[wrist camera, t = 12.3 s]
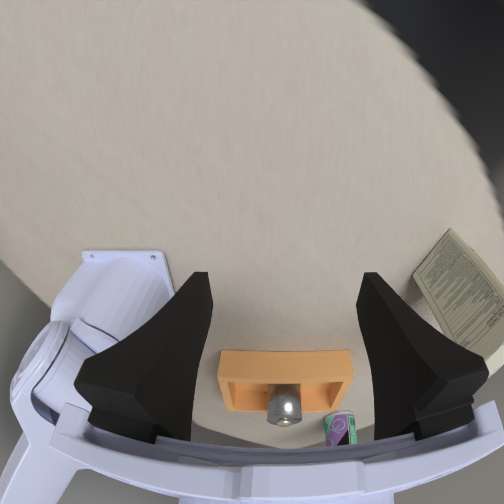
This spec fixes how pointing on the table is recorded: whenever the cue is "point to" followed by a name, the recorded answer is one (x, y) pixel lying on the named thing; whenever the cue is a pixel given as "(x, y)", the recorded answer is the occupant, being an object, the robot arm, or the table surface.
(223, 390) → the trough
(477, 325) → the skincare box
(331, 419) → the spray can
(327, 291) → the table surface
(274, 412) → the cell
